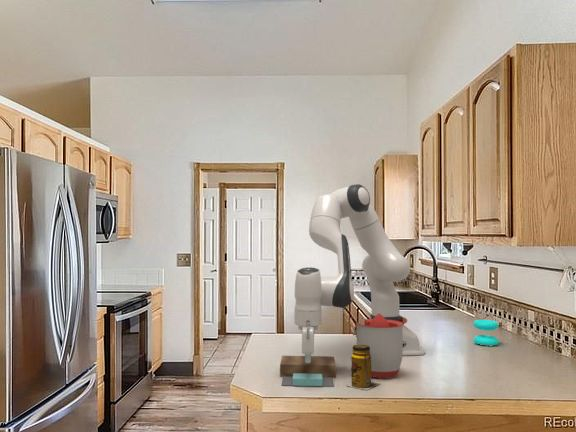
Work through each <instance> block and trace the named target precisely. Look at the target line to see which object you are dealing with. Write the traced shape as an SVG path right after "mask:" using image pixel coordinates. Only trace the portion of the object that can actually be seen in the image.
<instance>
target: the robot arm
mask: <svg viewBox="0 0 576 432" xmlns="http://www.w3.org/2000/svg"><path fill="white" fill-rule="evenodd" d="M344 218H348V219H349V221H350V222H349V223H350V224H351V227H352V229H353V232H354V234H355V236H356V238H357V240H358V242H359V245H360V247H361V248H362V249H363V250H364V251H365V252H366V253H367V254H368V255H367V256H365V257H364V258H363V261H362V263H361V268H362V271H363V273H364V274H365V276H366V279H367V282H368V285H369V290H370V298H371V300H370V301H371V303H370V304H371V314H370V318H369V319H373V318H374V317H375V316H376V315H377V314H379V313H380V314H381V315H382V316H383V317H384V318H385V319H386V320H394V321H399V322H402V323H403V353H402V356H424V355H425V354H426V349H425V348H424V347H422V346H420V341H419V337H418V335H417V334H416V333H415V332H414V331H412V329H410V328H408V326H406V325H405V324H407V323H408V319H407V318H406V317H404V316H402V315H400V296H399V293H398V291H397V290H396V288H395V284H394V283H395V282H400V281H404V280H405V279H407V278H408V277H409V275H410V273H411V264H410V262H409V260H408V259H407V258H406V257H404V256H403V254H401V253H400V251H398V249H397V247H395V245H394V244H393V242H392V241H391V240H390V238H389V237H388V234H387V233H386V231H385V229H384V226H383V225H382V223H381V220H380V217H379V215H378V214H377V212H376V210H375V208H374V207H373V204H371V197H370V192H369V191H368V189H367V188H366V187H365V186H364V185H362V184H351V185H349V186H345V187H340V188H338V189H336V190H334V191H333V192H330V193H329V194H326V193H325V194H321V195H319V196H318V197H317V198H316V199H315V202H314V204H313V207H312V211H311V215H310V219H309V227H308V233H309V236H310V238H311V240H312V241H313V242H314V244H316V245H317V246H319V247H321V248H323V249H325V250H328V251H331V252H332V253H334V254H336V255H337V267H338V268H337V270H338V271H337V272H338V275H337V276H333V277H332V276H331V277H330V276H321V271H320V269H319V268H316V267H302V268H300V269H298V270H297V272H296V275H295V281H294V298H295V299H294V300H295V304H294V311H293V312H294V314H293V315H294V316H293V317H294V319H293V321H294V325H296V326H298V328H297V329H298V330H299V331H301V353H302V355H304V356H305V363H311V356H312V355H314V353H315V332H316V331H318V330H319V326H321V325H322V324H323V317H322V316H323V307H322V306H324V307H333V308H340V309H345V308H347V307H349V305H350V304H352V303H353V302H354V297H355V290H354V284H353V280H352V279H353V278H352V267H351V257H350V256H351V255H350V247H349V241H348V239H347V236H346V235H344V234H343V233H342V232H341V219H344Z"/></svg>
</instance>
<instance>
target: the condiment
mask: <svg viewBox="0 0 576 432" xmlns="http://www.w3.org/2000/svg"><path fill="white" fill-rule="evenodd" d="M350 358H351V370H350V371H351V372H350V373H351V375H350V376H351V383H349V384H345V386H347V387H350V388H354V389H360V390H365V391H368V390H370V389H373V388H374V387H376V386H378V385H380V384H381V383H380V382H373V381H372V377H371V355H370V347H369V346H367V345H357V344H354V345H353V346H352V354H351V357H350Z"/></svg>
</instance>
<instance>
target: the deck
mask: <svg viewBox="0 0 576 432" xmlns="http://www.w3.org/2000/svg"><path fill="white" fill-rule="evenodd" d="M293 373H303V374H322V377H333V379H336V378H337V365H336V359H335V355H334V356H333V355H332V356H331V355H329V356H327V355H325V356H324V355H323V356H322V355H311V363H305V355H282V356H281V359H280V362H279V378H283V377H293Z"/></svg>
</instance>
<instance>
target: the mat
mask: <svg viewBox="0 0 576 432" xmlns="http://www.w3.org/2000/svg"><path fill="white" fill-rule="evenodd" d="M281 387H297V386H296V385H293V377H282V380H281ZM315 387H319V388H320V387H321V388H322V387H324V388H330V387H331V388H335V383H334V378H333V377H322V386H315Z"/></svg>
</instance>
